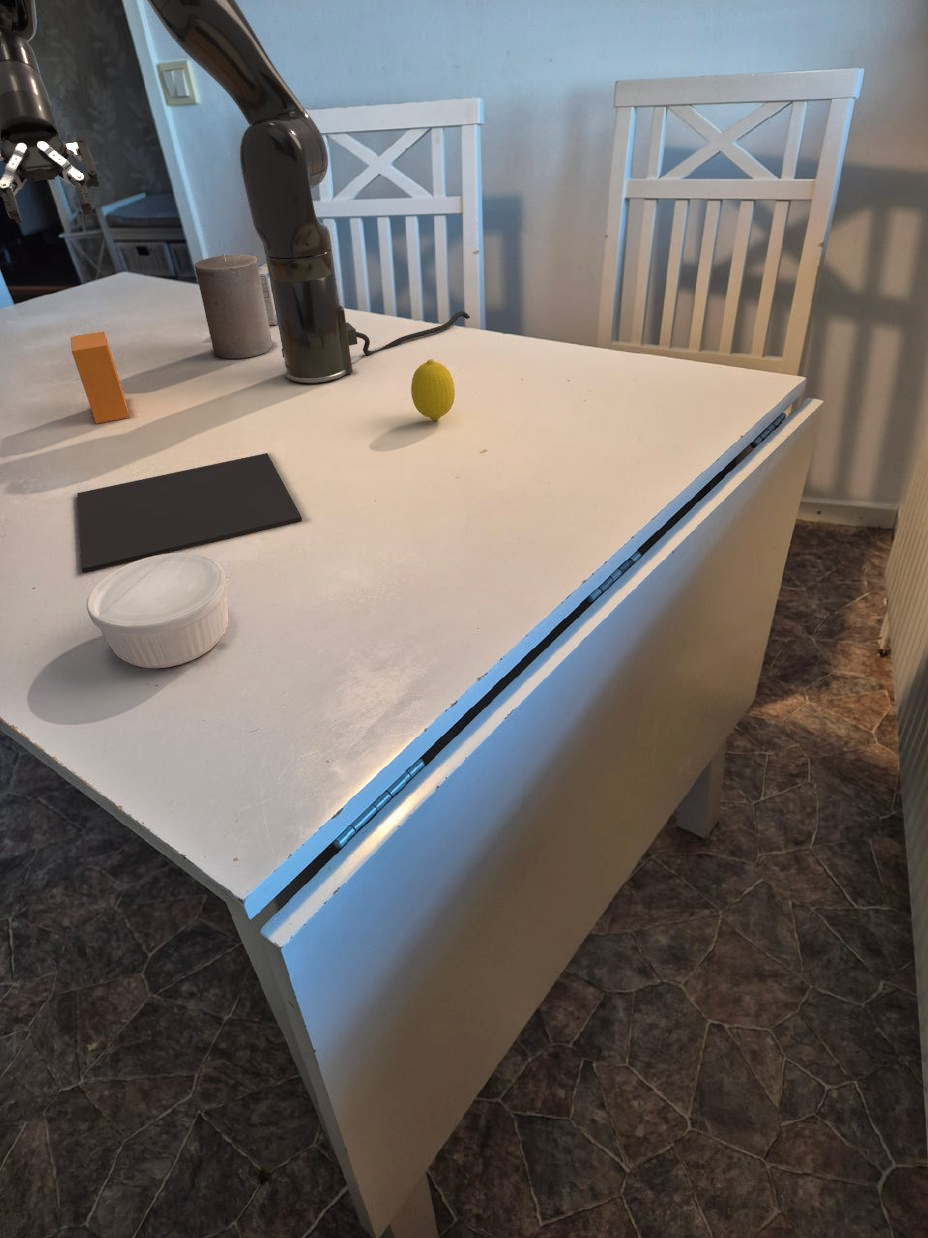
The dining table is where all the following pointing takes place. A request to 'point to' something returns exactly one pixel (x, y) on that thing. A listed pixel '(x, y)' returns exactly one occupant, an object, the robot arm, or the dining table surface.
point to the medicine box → (268, 294)
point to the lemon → (432, 390)
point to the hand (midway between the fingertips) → (52, 215)
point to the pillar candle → (234, 305)
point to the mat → (181, 511)
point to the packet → (99, 377)
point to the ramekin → (162, 609)
